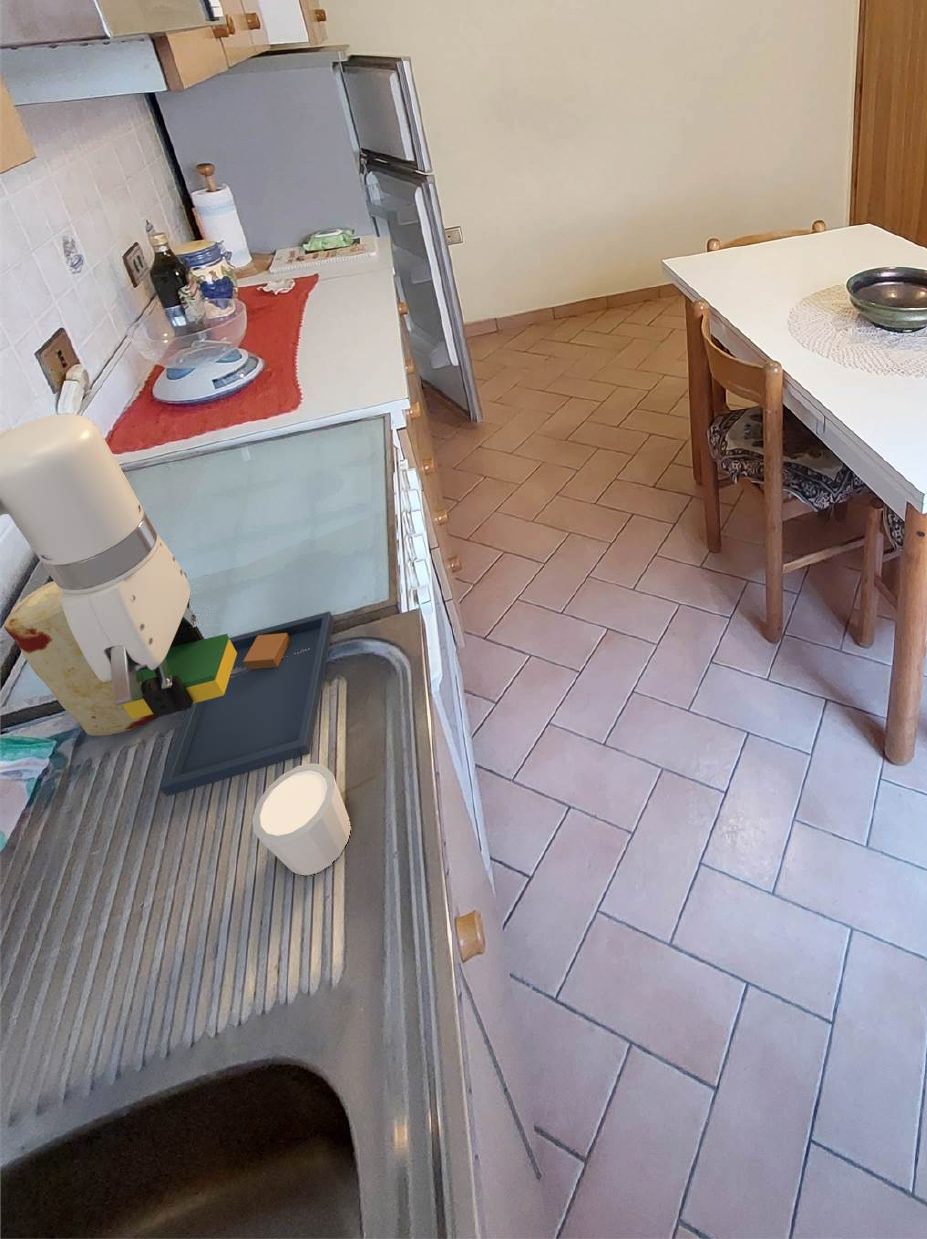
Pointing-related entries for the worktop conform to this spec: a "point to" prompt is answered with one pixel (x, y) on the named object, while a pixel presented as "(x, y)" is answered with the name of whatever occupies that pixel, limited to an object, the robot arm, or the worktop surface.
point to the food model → (66, 664)
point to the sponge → (194, 671)
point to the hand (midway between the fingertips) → (184, 682)
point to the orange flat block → (267, 651)
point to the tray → (254, 711)
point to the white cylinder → (303, 819)
